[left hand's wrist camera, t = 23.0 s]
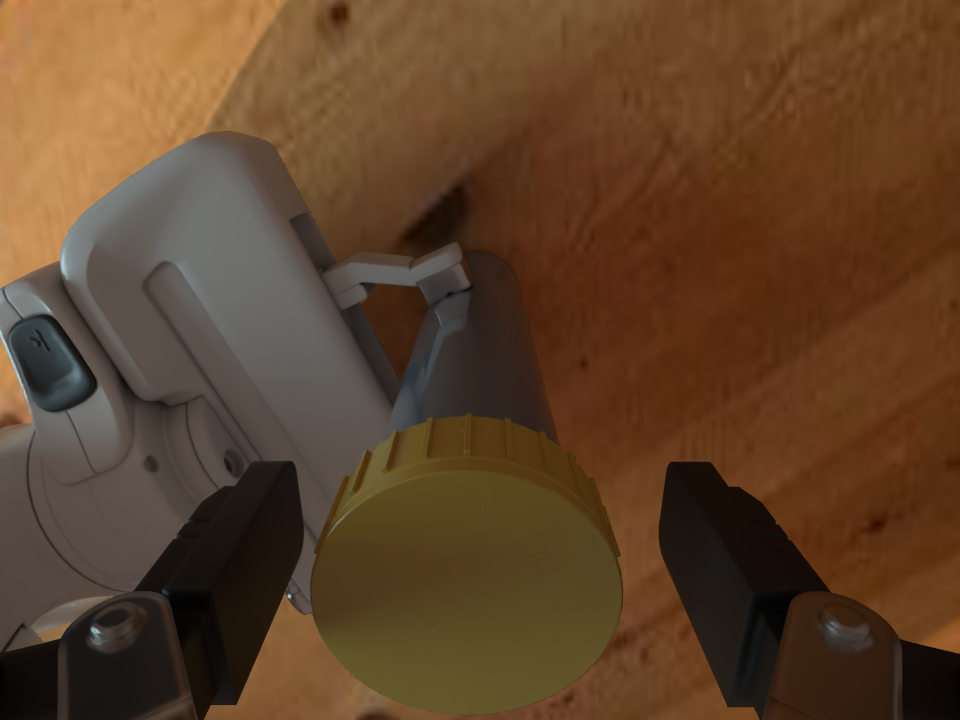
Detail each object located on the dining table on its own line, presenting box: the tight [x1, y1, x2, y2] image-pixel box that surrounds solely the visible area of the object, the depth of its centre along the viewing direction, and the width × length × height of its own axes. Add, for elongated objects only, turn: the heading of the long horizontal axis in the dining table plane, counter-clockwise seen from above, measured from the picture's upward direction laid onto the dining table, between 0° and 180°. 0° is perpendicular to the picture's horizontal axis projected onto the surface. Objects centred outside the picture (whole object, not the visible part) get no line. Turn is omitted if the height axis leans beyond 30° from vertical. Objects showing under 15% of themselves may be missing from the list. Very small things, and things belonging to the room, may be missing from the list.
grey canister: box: [382, 251, 561, 447], centre depth 19 cm, size 4×4×19 cm
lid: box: [310, 413, 623, 715], centre depth 10 cm, size 5×5×2 cm
